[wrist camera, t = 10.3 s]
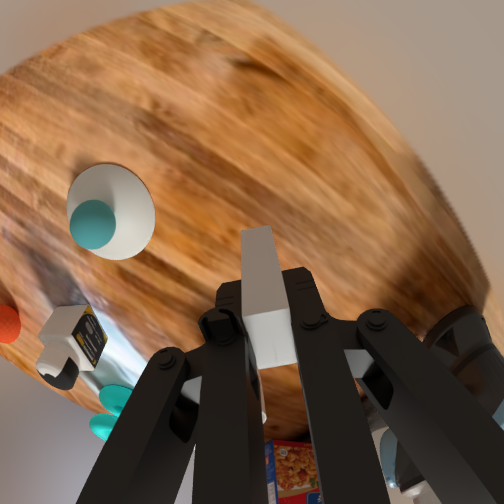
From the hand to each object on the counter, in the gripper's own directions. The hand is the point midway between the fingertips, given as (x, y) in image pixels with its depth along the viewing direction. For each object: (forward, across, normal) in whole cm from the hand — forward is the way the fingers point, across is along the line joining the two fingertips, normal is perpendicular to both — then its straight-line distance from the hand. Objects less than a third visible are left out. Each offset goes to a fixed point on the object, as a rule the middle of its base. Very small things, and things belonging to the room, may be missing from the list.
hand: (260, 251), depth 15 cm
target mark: (+16, +17, 0) cm, 24 cm away
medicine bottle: (+17, +30, +15) cm, 37 cm away
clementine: (+17, +47, +11) cm, 51 cm away
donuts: (+17, +33, +35) cm, 51 cm away
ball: (+14, +18, 0) cm, 22 cm away
